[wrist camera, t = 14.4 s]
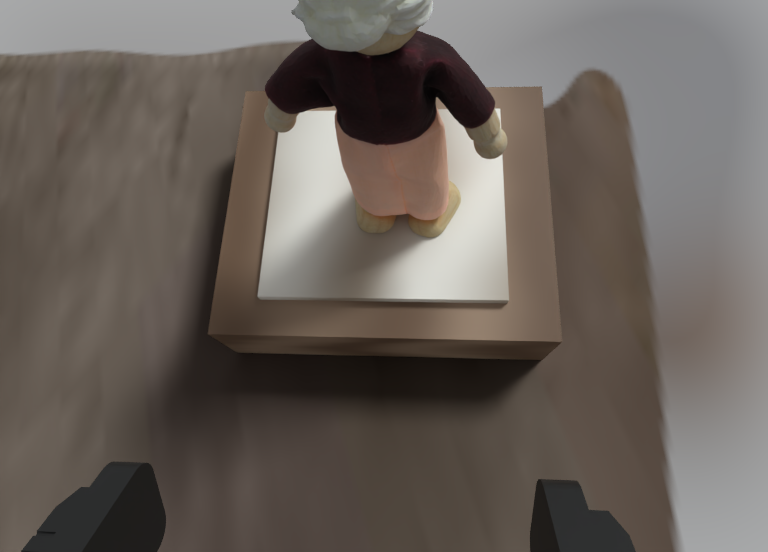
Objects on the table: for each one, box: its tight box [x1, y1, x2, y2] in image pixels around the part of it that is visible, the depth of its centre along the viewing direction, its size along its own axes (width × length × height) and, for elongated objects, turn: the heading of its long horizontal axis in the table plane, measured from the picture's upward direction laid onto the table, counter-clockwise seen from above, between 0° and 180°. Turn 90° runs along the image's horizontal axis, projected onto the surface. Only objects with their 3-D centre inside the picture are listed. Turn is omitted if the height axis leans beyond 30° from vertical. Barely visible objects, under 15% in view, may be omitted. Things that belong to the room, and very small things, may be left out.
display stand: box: [208, 87, 562, 360], centre depth 24 cm, size 14×12×4 cm
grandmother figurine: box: [264, 0, 508, 238], centre depth 16 cm, size 8×4×13 cm, turn 92°
